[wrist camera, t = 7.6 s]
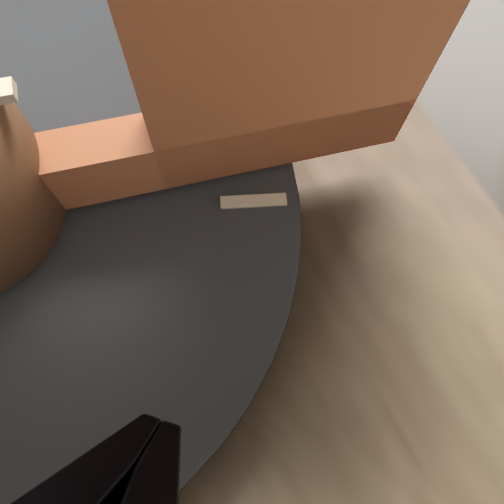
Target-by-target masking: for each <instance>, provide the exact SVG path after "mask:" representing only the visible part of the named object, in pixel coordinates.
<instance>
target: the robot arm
mask: <svg viewBox="0 0 504 504" xmlns="http://www.w3.org/2000/svg"><path fill="white" fill-rule="evenodd" d="M180 458H181V426H180V425H177V424H174V423H171V422H169V421H163V422H162V421H161V419H160V418H157V417H154V416H151V415H148V414H142V415H140V416H139V417H137V418H136V419H134V420H133V421H131V422H130V423H128V424H127V425H125V426H124V427H122V428H121V429H120V430H118V431H117V432H115V433H114V434H112V435H111V436H109V437H108V438H106V439H105V440H103V441H102V442H100V443H99V444H97V445H96V446H95V447H93V448H92V449H90V450H89V451H87V452H86V453H84V454H83V455H81V456H80V457H78V458H77V459H75V460H74V461H72V462H71V463H70V464H68V465H67V466H65V467H64V468H62V469H61V470H59V471H58V472H56V473H55V474H53V475H52V476H50V477H49V478H48V479H46V480H45V481H43V482H42V483H40V484H39V485H37V486H36V487H34V488H33V489H31V490H30V491H28V492H27V493H25V494H24V495H23V496H21V497H20V498H18V499H17V500H15V501H14V502H12V503H11V504H179V485H180Z"/></svg>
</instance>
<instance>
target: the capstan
mask: <svg viewBox="0 0 504 504" xmlns="http://www.w3.org/2000/svg"><path fill="white" fill-rule="evenodd" d="M469 2H470V0H107V3H108V6H109V9H110V12H111V15H112V19H113V22H114V25H115V28H116V31H117V35H118V38H119V41H120V44H121V48H122V51H123V54H124V57H125V60H126V64H127V67H128V70H129V73H130V76H131V80H132V83H133V86H134V89H135V92H136V96H137V99H138V102H139V105H140V109H141V112H142V113H136V114H131V115H126V116H121V117H115V118H110V119H105V120H99V121H94V122H89V123H84V124H78V125H73V126H68V127H63V128H57V129H52V130H47V131H42V132H35V131H34V129H33V128H32V127H31V125H30V124H29V122H28V121H27V119H26V118H25V117H24V115H23V114H22V112H21V111H20V109H19V108H18V106H17V105H16V104H15V103H17V102H18V93H17V84H16V82H15V81H14V79H13V78H12V76H9V77H3V78H0V293H1V292H3V291H5V290H6V289H8V288H10V287H12V286H13V285H15V284H16V283H18V282H19V281H21V280H22V279H23V278H25V277H26V276H27V275H28V274H29V273H30V272H31V271H33V270H34V269H35V268H36V267H37V266H38V265H39V263H40V262H41V261H42V260H43V259H44V258H45V256H46V255H47V254H48V252H49V251H50V250H51V248H52V247H53V245H54V243H55V241H56V239H57V238H58V236H59V233H60V231H61V228H62V226H63V222H64V218H65V214H66V210H69V209H73V208H78V207H83V206H88V205H92V204H97V203H102V202H107V201H111V200H116V199H121V198H126V197H130V196H135V195H140V194H145V193H149V192H154V191H159V190H164V189H168V188H173V187H178V186H183V185H187V184H192V183H197V182H202V181H206V180H211V179H216V178H221V177H225V176H230V175H235V174H240V173H244V172H249V171H254V170H258V169H263V168H268V167H273V166H277V165H282V164H287V163H292V162H296V161H301V160H306V159H311V158H315V157H320V156H325V155H330V154H334V153H339V152H344V151H349V150H353V149H358V148H363V147H368V146H372V145H377V144H382V143H387V142H391V141H394V140H395V138H396V136H397V134H398V132H399V131H400V129H401V127H402V125H403V123H404V121H405V120H406V118H407V116H408V114H409V112H410V110H411V109H412V107H413V105H414V103H415V101H416V99H417V97H418V96H419V94H420V92H421V90H422V88H423V86H424V85H425V83H426V81H427V79H428V77H429V75H430V74H431V72H432V70H433V68H434V66H435V64H436V62H437V61H438V59H439V57H440V55H441V53H442V51H443V49H444V48H445V46H446V44H447V42H448V40H449V38H450V37H451V35H452V33H453V31H454V29H455V27H456V26H457V24H458V22H459V20H460V18H461V16H462V15H463V13H464V11H465V9H466V7H467V5H468V3H469Z"/></svg>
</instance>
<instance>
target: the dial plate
mask: <svg viewBox="0 0 504 504" xmlns="http://www.w3.org/2000/svg"><path fill="white" fill-rule="evenodd" d="M9 76H12V78H13V79H14V81H15V82H16V84H17V93H18V102H17V103H15V104H16V105H17V106H18V108H19V109H20V111H21V112H22V114H23V115H24V117H25V118H26V119H27V121H28V122H29V124H30V125H31V127H32V128H33V129H34V131H35V132H42V131H47V130H52V129H57V128H63V127H68V126H73V125H78V124H84V123H89V122H94V121H99V120H105V119H110V118H115V117H121V116H126V115H131V114H136V113H142V112H141V109H140V105H139V102H138V99H137V96H136V92H135V89H134V86H133V83H132V80H131V76H130V73H129V70H128V67H127V64H126V60H125V57H124V54H123V51H122V48H121V44H120V41H119V38H118V35H117V31H116V28H115V25H114V22H113V19H112V15H111V12H110V9H109V6H108V3H107V0H0V78H3V77H9ZM300 247H301V219H300V203H299V194H298V189H297V184H296V180H295V175H294V170H293V165H292V163H287V164H282V165H277V166H273V167H268V168H263V169H258V170H254V171H249V172H244V173H240V174H235V175H230V176H225V177H221V178H216V179H211V180H206V181H202V182H197V183H192V184H187V185H183V186H178V187H173V188H168V189H164V190H159V191H154V192H149V193H145V194H140V195H135V196H130V197H126V198H121V199H116V200H111V201H107V202H102V203H97V204H92V205H88V206H83V207H78V208H73V209H69V210H66V214H65V218H64V222H63V226H62V228H61V231H60V233H59V236H58V238H57V239H56V241H55V243H54V245H53V247H52V248H51V250H50V251H49V252H48V254H47V255H46V256H45V258H44V259H43V260H42V261H41V262H40V263H39V265H38V266H37V267H36V268H35V269H34V270H33V271H31V272H30V273H29V274H28V275H27V276H26V277H25V278H23V279H22V280H21V281H19V282H18V283H16V284H15V285H13V286H12V287H10V288H8V289H6V290H5V291H3V292H1V293H0V504H11V503H12V502H14V501H15V500H17V499H18V498H20V497H21V496H23V495H24V494H25V493H27V492H28V491H30V490H31V489H33V488H34V487H36V486H37V485H39V484H40V483H42V482H43V481H45V480H46V479H48V478H49V477H50V476H52V475H53V474H55V473H56V472H58V471H59V470H61V469H62V468H64V467H65V466H67V465H68V464H70V463H71V462H72V461H74V460H75V459H77V458H78V457H80V456H81V455H83V454H84V453H86V452H87V451H89V450H90V449H92V448H93V447H95V446H96V445H97V444H99V443H100V442H102V441H103V440H105V439H106V438H108V437H109V436H111V435H112V434H114V433H115V432H117V431H118V430H120V429H121V428H122V427H124V426H125V425H127V424H128V423H130V422H131V421H133V420H134V419H136V418H137V417H139V416H140V415H142V414H148V415H151V416H154V417H157V418H160V419H161V421H162V422H163V421H169V422H171V423H174V424H177V425H180V426H181V458H180V485H179V491H180V490H181V489H182V488H183V487H184V486H185V485H186V484H187V482H188V481H189V480H190V479H191V478H192V477H193V476H194V475H195V474H196V473H197V471H198V470H199V469H200V468H201V467H202V466H203V465H204V464H205V463H206V462H207V460H208V459H209V458H210V457H211V456H212V455H213V454H214V453H215V452H216V451H217V449H218V448H219V447H220V446H221V445H222V444H223V442H224V441H225V439H226V438H227V436H228V435H229V434H230V432H231V431H232V429H233V428H234V427H235V425H236V424H237V422H238V421H239V419H240V418H241V417H242V415H243V414H244V412H245V411H246V409H247V408H248V407H249V405H250V403H251V401H252V399H253V397H254V395H255V393H256V392H257V390H258V388H259V386H260V384H261V382H262V380H263V378H264V376H265V375H266V373H267V371H268V369H269V367H270V365H271V363H272V361H273V359H274V356H275V353H276V351H277V348H278V345H279V342H280V340H281V337H282V334H283V332H284V329H285V326H286V323H287V321H288V318H289V314H290V310H291V305H292V301H293V296H294V292H295V287H296V283H297V278H298V272H299V259H300Z"/></svg>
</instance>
